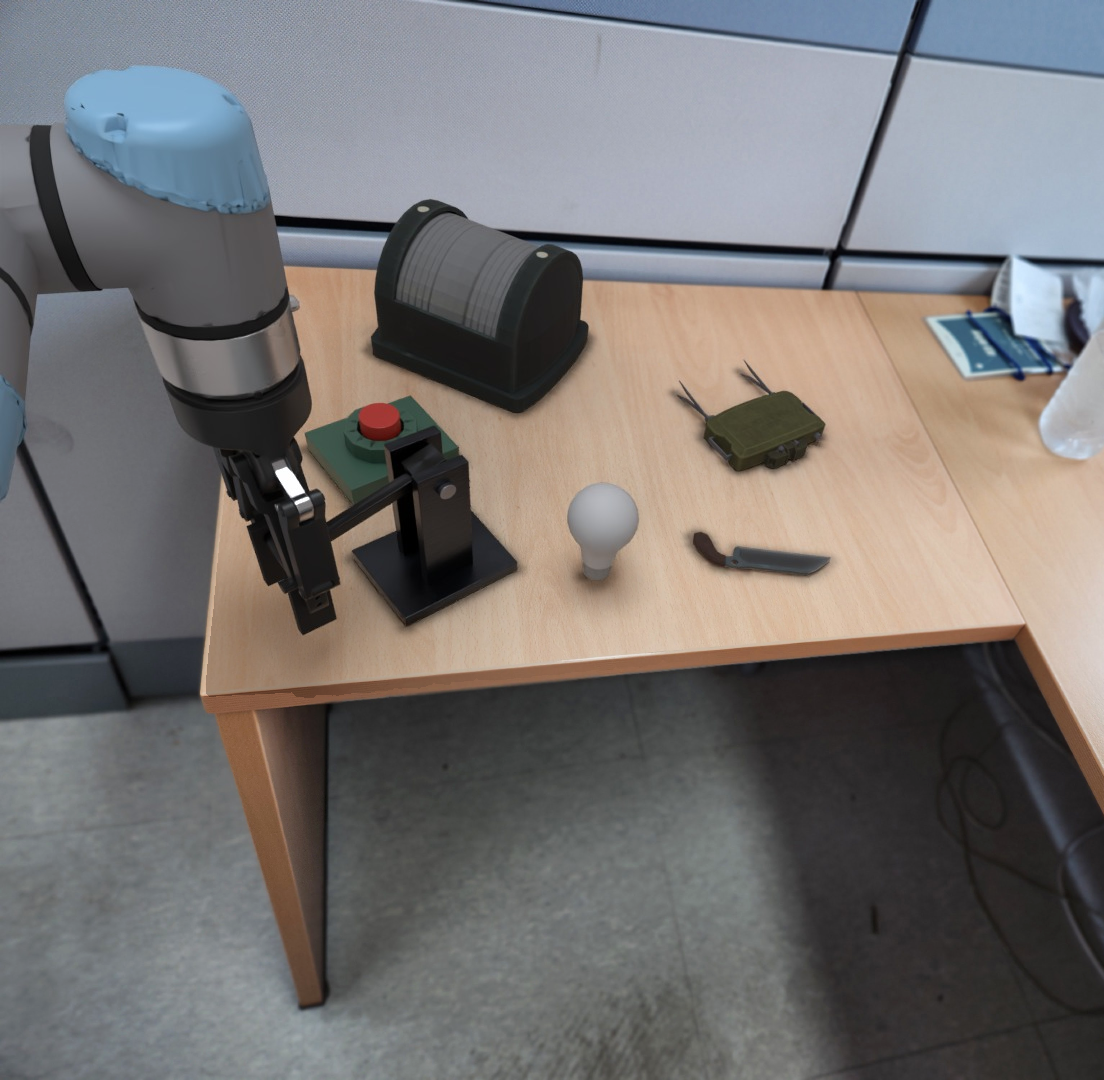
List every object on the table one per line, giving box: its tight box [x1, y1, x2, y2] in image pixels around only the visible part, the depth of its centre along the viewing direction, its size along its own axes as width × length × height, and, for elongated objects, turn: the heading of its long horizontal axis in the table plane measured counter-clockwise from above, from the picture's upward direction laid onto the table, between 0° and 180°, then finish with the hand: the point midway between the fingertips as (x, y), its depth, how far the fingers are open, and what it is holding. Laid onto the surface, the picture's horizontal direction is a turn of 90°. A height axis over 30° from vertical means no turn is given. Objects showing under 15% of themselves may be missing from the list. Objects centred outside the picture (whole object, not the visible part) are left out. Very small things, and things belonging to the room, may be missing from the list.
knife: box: [692, 531, 832, 576], centre depth 84 cm, size 14×4×1 cm, turn 90°
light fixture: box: [370, 198, 590, 414], centre depth 92 cm, size 17×14×20 cm
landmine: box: [677, 359, 826, 472], centre depth 96 cm, size 14×3×15 cm
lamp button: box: [359, 402, 401, 441], centre depth 80 cm, size 4×4×2 cm
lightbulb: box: [566, 482, 640, 582], centre depth 75 cm, size 6×6×11 cm
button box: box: [304, 395, 460, 506], centre depth 82 cm, size 11×9×4 cm
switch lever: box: [263, 443, 447, 570], centre depth 65 cm, size 14×5×2 cm, turn 133°
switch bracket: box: [351, 425, 518, 627], centre depth 71 cm, size 11×9×14 cm
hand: (300, 599), depth 67 cm, fingers closed on switch lever, 5 cm apart
